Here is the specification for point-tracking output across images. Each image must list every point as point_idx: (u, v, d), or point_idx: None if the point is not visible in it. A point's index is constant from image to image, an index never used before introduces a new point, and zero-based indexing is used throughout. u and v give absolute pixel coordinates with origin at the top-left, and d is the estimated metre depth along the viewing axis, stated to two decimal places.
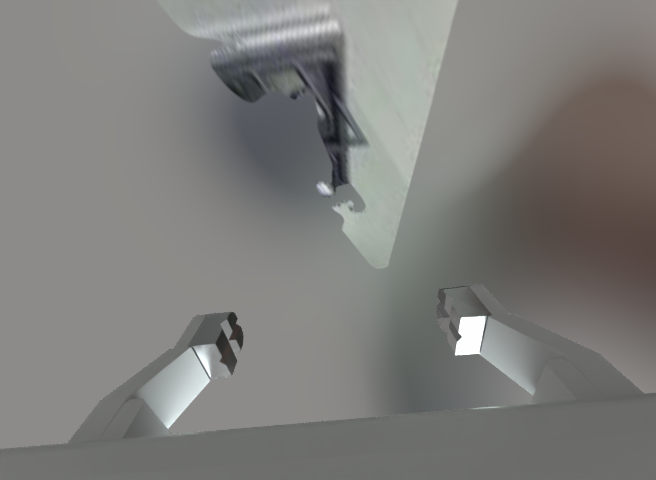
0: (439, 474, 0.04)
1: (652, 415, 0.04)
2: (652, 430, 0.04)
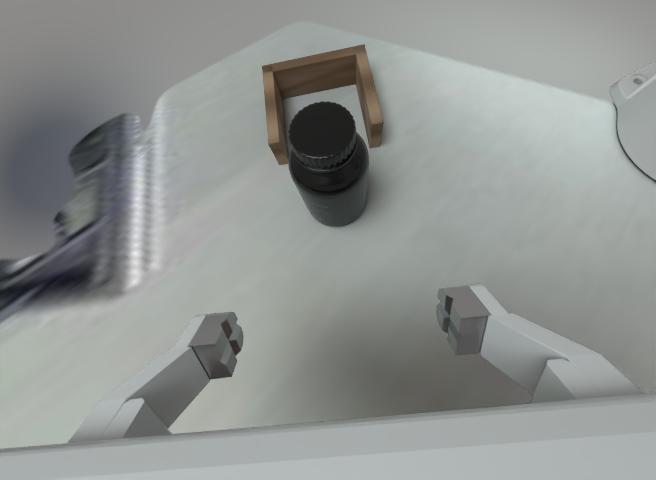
0: (439, 474, 0.04)
1: (652, 415, 0.04)
2: (652, 430, 0.04)
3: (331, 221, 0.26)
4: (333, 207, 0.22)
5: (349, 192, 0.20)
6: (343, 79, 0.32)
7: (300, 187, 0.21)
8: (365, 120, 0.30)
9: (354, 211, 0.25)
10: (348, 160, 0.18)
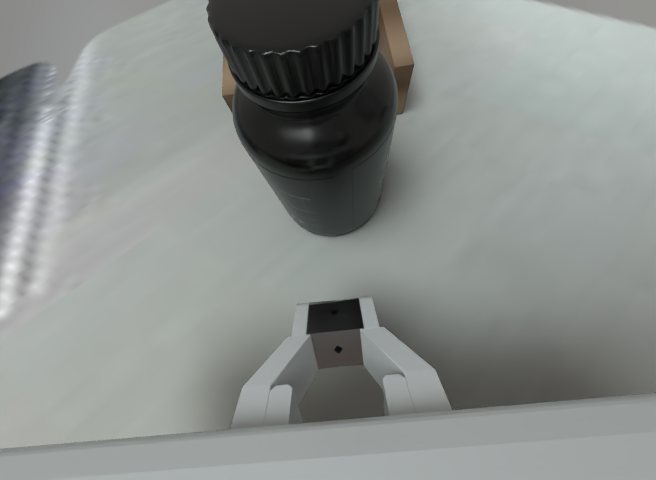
0: (439, 474, 0.04)
1: (652, 415, 0.04)
2: (652, 430, 0.04)
3: (321, 228, 0.15)
4: (321, 200, 0.11)
5: (354, 168, 0.10)
6: None
7: (252, 154, 0.10)
8: None
9: (361, 212, 0.14)
10: (357, 80, 0.07)
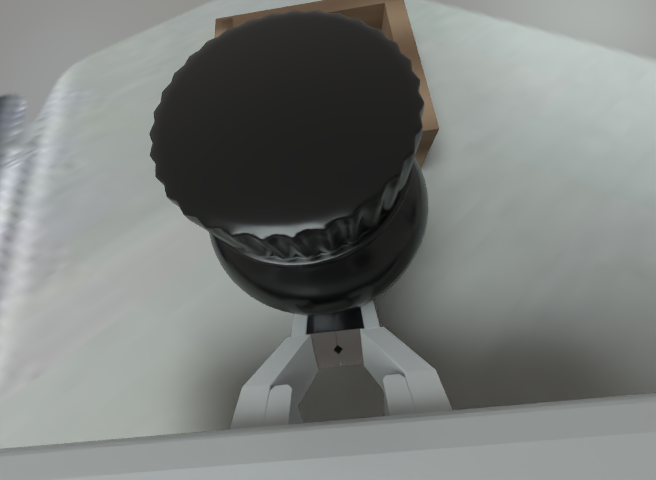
0: (439, 474, 0.04)
1: (652, 415, 0.04)
2: (652, 430, 0.04)
3: None
4: None
5: (369, 301, 0.07)
6: None
7: (232, 279, 0.07)
8: None
9: None
10: (381, 230, 0.05)
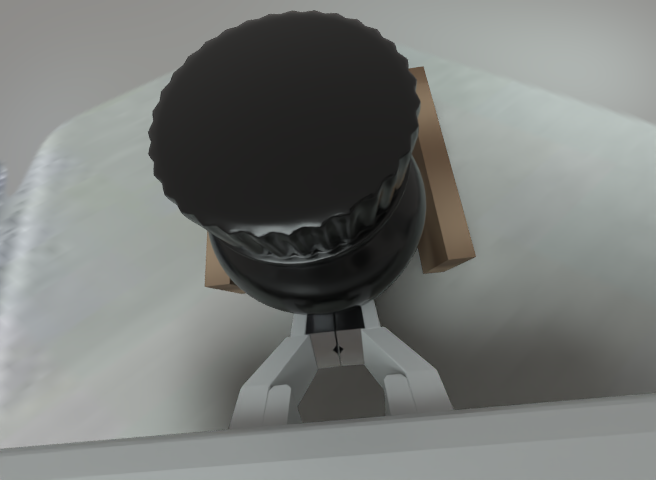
0: (439, 474, 0.04)
1: (652, 415, 0.04)
2: (652, 430, 0.04)
3: None
4: None
5: (367, 300, 0.07)
6: None
7: (231, 278, 0.07)
8: None
9: None
10: (378, 229, 0.05)
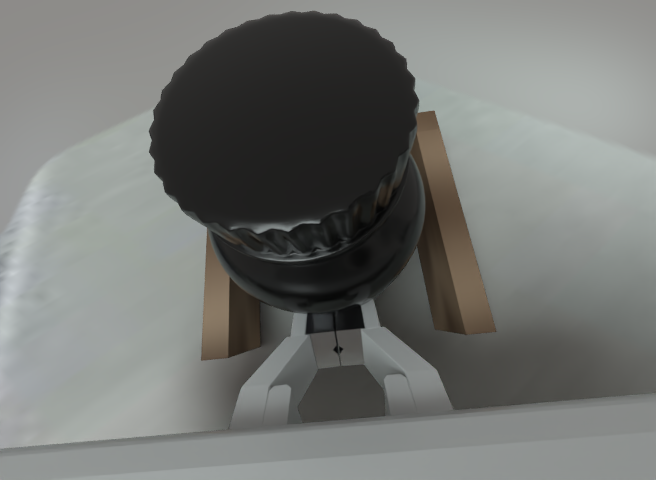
0: (439, 474, 0.04)
1: (652, 415, 0.04)
2: (652, 430, 0.04)
3: None
4: None
5: (367, 299, 0.07)
6: None
7: None
8: (428, 270, 0.14)
9: None
10: (377, 227, 0.05)
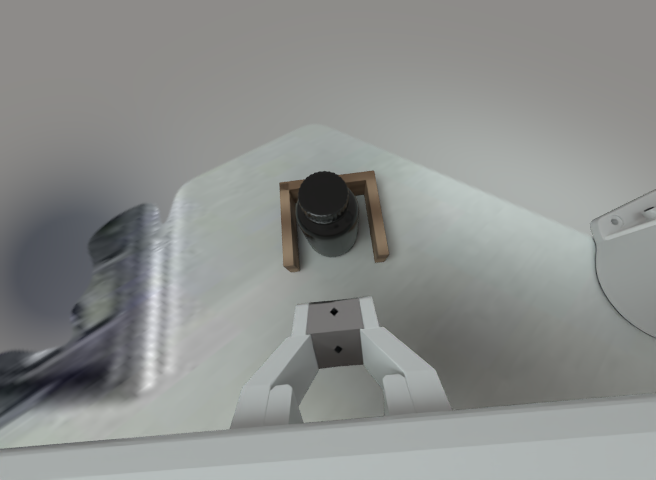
0: (439, 474, 0.04)
1: (652, 415, 0.04)
2: (652, 430, 0.04)
3: (327, 254, 0.32)
4: (328, 246, 0.28)
5: (342, 237, 0.26)
6: (353, 192, 0.35)
7: (304, 231, 0.26)
8: (372, 237, 0.33)
9: (346, 247, 0.31)
10: (342, 216, 0.24)
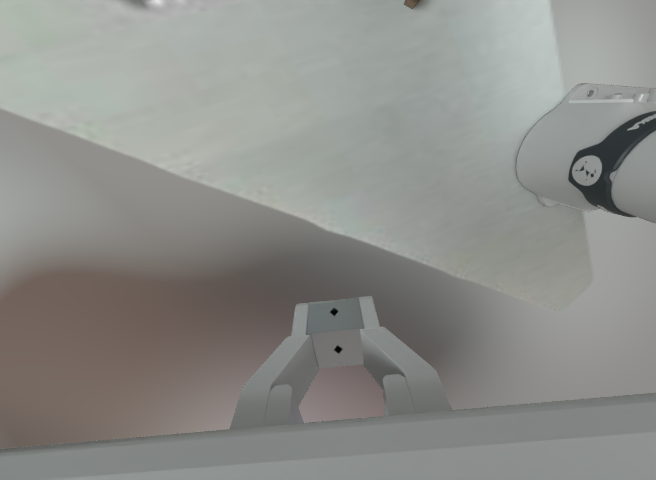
0: (439, 474, 0.04)
1: (652, 415, 0.04)
2: (652, 430, 0.04)
3: None
4: None
5: None
6: None
7: None
8: None
9: None
10: None
